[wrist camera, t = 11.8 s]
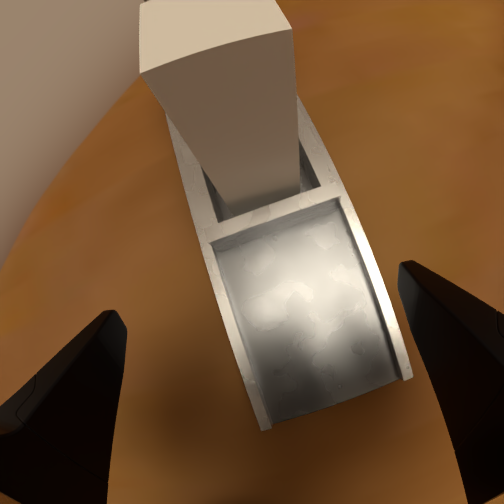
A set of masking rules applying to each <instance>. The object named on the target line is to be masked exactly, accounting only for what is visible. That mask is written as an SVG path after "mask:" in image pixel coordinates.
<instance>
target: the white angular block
mask: <svg viewBox="0 0 504 504" xmlns="http://www.w3.org/2000/svg"><path fill="white" fill-rule="evenodd" d="M139 47H140V48H139V52H140V74H141V76H142V77H143V79H144V80H145V82H146V83H147V85H148V87H149V88H150V90H151V91H152V93H153V94H154V96H155V97H156V99H157V100H158V102H159V103H160V105H161V106H162V108H163V109H164V111H165V112H166V114H167V115H168V117H169V118H170V120H171V121H172V123H173V124H174V126H175V127H176V129H177V130H178V132H179V133H180V135H181V136H182V138H183V139H184V141H185V142H186V144H187V145H188V147H189V148H190V150H191V152H192V153H193V155H194V156H195V158H196V159H197V161H198V162H199V164H200V165H201V167H202V168H203V170H204V171H205V173H206V174H207V176H208V177H209V179H210V180H211V182H212V183H213V185H214V186H215V188H216V190H217V191H218V193H219V194H220V196H221V197H222V199H223V200H224V202H225V203H226V205H227V206H228V208H229V209H230V211H231V212H232V214H233V215H234V217H236V216H239V215H242V214H245V213H247V212H250V211H253V210H256V209H258V208H261V207H264V206H267V205H269V204H272V203H275V202H278V201H281V200H284V199H286V198H289V197H292V196H295V195H298V194H300V165H299V135H298V112H297V93H296V76H295V60H294V47H293V34H292V28H291V26H290V24H289V23H288V21H287V19H286V18H285V16H284V14H283V13H282V11H281V9H280V8H279V6H278V5H277V3H276V1H275V0H149V1H147V2H144V3H142V4H140V24H139Z"/></svg>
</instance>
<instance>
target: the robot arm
mask: <svg viewBox="0 0 504 504" xmlns="http://www.w3.org/2000/svg"><path fill="white" fill-rule="evenodd" d="M397 285H398V291H399V295H400V298H401V301H402V304H403V307H404V310H405V313H406V317H407V320H408V323H409V326H410V330H411V333H412V335H413V338H414V340H415V343H416V345H417V347H418V350H419V352H420V355H421V357H422V360H423V362H424V365H425V367H426V370H427V372H428V375H429V377H430V380H431V383H432V385H433V388H434V391H435V394H436V396H437V399H438V402H439V405H440V408H441V411H442V413H443V416H444V419H445V422H446V425H447V429H448V432H449V435H450V438H451V441H452V445H453V448H454V450H455V455H456V459H457V462H458V466H459V470H460V473H461V477H462V481H463V485H464V489H465V493H466V498H467V502H468V504H485V503H487V502H489V501H491V500H493V499H495V498H497V497H498V496H500V495H502V494H504V314H502V313H501V312H499V311H496V309H494V308H493V307H491V306H489V305H488V304H486V303H485V302H483V301H481V300H480V299H478V298H477V297H475V296H473V295H472V294H470V293H468V292H467V291H465V290H463V289H462V288H460V287H458V286H457V285H455V284H453V283H452V282H450V281H448V280H447V279H445V278H443V277H441V276H440V275H438V274H436V273H435V272H433V271H431V270H429V269H428V268H426V267H424V266H422V265H421V264H419V263H417V262H415V261H413V260H409V261H404V262H401V263H400V264H399V271H398V284H397ZM126 342H127V328H126V326H125V324H124V323H123V321H122V319H121V318H120V316H119V314H118V313H117V311H115V310H105V311H103V312H102V313H101V314H100V315H98V316H97V317H96V318H95V319H94V320H93V321H92V322H91V323H90V324H88V325H87V326H86V327H85V328H84V329H83V330H82V331H81V332H80V333H79V334H78V335H76V336H75V337H74V338H73V339H72V340H71V341H70V342H69V343H68V344H67V345H66V346H65V347H63V348H62V349H61V350H60V351H59V352H58V353H57V354H56V355H55V356H54V357H53V358H52V359H51V360H50V361H49V362H48V363H47V364H45V365H44V366H43V367H42V368H41V369H40V370H39V371H38V372H37V374H35V375H34V376H33V377H32V378H31V379H30V380H29V381H28V382H27V383H26V384H25V385H24V386H23V387H21V388H20V389H19V390H18V391H17V392H16V393H15V394H14V395H13V396H11V397H10V398H9V399H8V400H7V401H6V402H5V403H3V404H2V405H1V406H0V504H107V493H108V480H109V469H110V460H111V452H112V443H113V436H114V429H115V422H116V415H117V409H118V402H119V396H120V390H121V385H122V379H123V373H124V364H125V352H126Z"/></svg>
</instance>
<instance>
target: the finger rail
mask: <svg viewBox="0 0 504 504" xmlns="http://www.w3.org/2000/svg"><path fill="white" fill-rule="evenodd" d="M144 1H145V2H147V1H149V0H144ZM297 112H298V135H299V165H300V194H298V195H295V196H292V197H289V198H286V199H284V200H281V201H278V202H275V203H272V204H269V205H267V206H264V207H261V208H258V209H256V210H253V211H250V212H247V213H245V214H242V215H239V216H236V217H234V215H233V214H232V212H231V211H230V209H229V208H228V206H227V205H226V203H225V202H224V200H223V199H222V197H221V196H220V194H219V193H218V191H217V190H216V188H215V186H214V185H213V183H212V182H211V180H210V179H209V177H208V176H207V174H206V173H205V171H204V170H203V168H202V167H201V165H200V164H199V162H198V161H197V159H196V158H195V156H194V155H193V153H192V152H191V150H190V148H189V147H188V145H187V144H186V142H185V141H184V139H183V138H182V136H181V135H180V133H179V132H178V130H177V129H176V127H175V126H174V124H173V123H172V121H171V120H170V118H169V117H168V115H167V114H166V112H165V114H166V118H167V122H168V127H169V131H170V135H171V139H172V143H173V147H174V151H175V155H176V158H177V162H178V166H179V170H180V174H181V178H182V181H183V185H184V189H185V193H186V196H187V200H188V204H189V207H190V211H191V214H192V218H193V221H194V225H195V229H196V232H197V236H198V239H199V242H200V246H201V249H202V253H203V256H204V260H205V263H206V266H207V270H208V273H209V276H210V279H211V283H212V286H213V289H214V293H215V296H216V299H217V302H218V305H219V309H220V312H221V315H222V318H223V321H224V324H225V327H226V330H227V334H228V337H229V340H230V343H231V346H232V349H233V352H234V355H235V358H236V361H237V364H238V367H239V370H240V372H241V375H242V378H243V381H244V384H245V387H246V390H247V393H248V396H249V398H250V401H251V404H252V407H253V410H254V412H255V415H256V418H257V421H258V423H259V426H260V429H261V431H264V430H268V429H272V426H273V424H275V423H278V422H282V421H285V420H289V419H292V418H296V417H299V416H302V415H305V414H309V413H312V412H315V411H318V410H321V409H324V408H327V407H330V406H332V405H335V404H338V403H341V402H344V401H346V400H349V399H352V398H354V397H357V396H359V395H362V394H365V393H367V392H370V391H372V390H374V389H377V388H379V387H382V386H384V385H386V384H389V383H391V382H393V381H396V380H398V379H401V380H403V381H405V380H407V379H410V378H412V377H413V373H412V369H411V366H410V362H409V359H408V355H407V352H406V349H405V345H404V342H403V339H402V336H401V332H400V329H399V326H398V323H397V320H396V317H395V314H394V311H393V308H392V305H391V302H390V299H389V296H388V294H387V291H386V288H385V285H384V283H383V280H382V277H381V274H380V272H379V269H378V266H377V264H376V261H375V259H374V256H373V253H372V251H371V248H370V246H369V243H368V241H367V238H366V236H365V234H364V231H363V229H362V226H361V224H360V222H359V219H358V217H357V215H356V212H355V210H354V208H353V205H352V203H351V201H350V199H349V196H348V194H347V192H346V190H345V188H344V185H343V183H342V181H341V179H340V177H339V175H338V173H337V170H336V168H335V166H334V164H333V162H332V160H331V158H330V156H329V154H328V152H327V150H326V148H325V146H324V144H323V142H322V140H321V138H320V136H319V134H318V132H317V130H316V128H315V126H314V125H313V123H312V121H311V119H310V117H309V115H308V113H307V111H306V110H305V108H304V106H303V104H302V102H301V101H300V99H299V97H298V95H297Z"/></svg>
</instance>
